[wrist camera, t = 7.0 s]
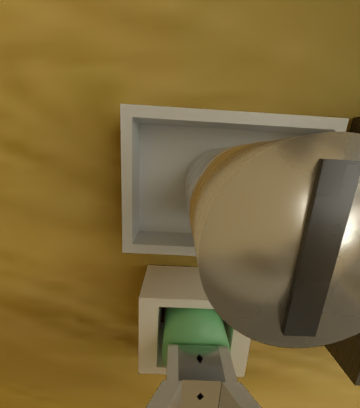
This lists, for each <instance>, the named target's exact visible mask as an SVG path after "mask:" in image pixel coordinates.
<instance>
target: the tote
mask: <svg viewBox="0 0 360 408" xmlns="http://www.w3.org/2000/svg"><path fill="white" fill-rule="evenodd" d="M348 121H349V118H335V117H320V116H304V115H289V114H273V113H258V112H242V111H227V110H211V109H196V108H180V107H165V106H149V105H134V104H120V125H121V188H122V252H123V253H141V254H163V255H185V256H196V252H195V247H194V241H193V236H192V230H191V225H190V219H189V214H188V208H187V203H186V197H185V191H184V179H185V175H186V172H187V170H188V168H189V166H190V165H191V163H192V162H193V161H194V160H195V159H196V158H197V157H198V156H199V155H201V154H202V153H204V152H206V151H209V150H212V149H217V148H224V147H230V146H237V145H244V144H250V143H257V142H264V141H270V140H277V139H283V138H290V137H297V136H303V135H310V134H317V133H324V132H346V129H347V125H348Z"/></svg>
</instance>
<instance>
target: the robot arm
mask: <svg viewBox="0 0 360 408" xmlns="http://www.w3.org/2000/svg"><path fill="white" fill-rule="evenodd" d="M146 408H262V407H261V406H260V405H259V404H258V402H257V401H256V400H255V399H254V398H253V396H252V395H251V394H250V393H249V392H248V390H247V389H246V388H245V387H244V386H243V384H242V383H240V382H238V381H237V377H236V374H235V370H234V366H233V362H232V359H231V355H230V351H229V348H228V346H214V345H198V346H196V345H181V344H168V352H167V371H166V380H163V381H162V382H161V384H160V386H159V387H158V389H157V390H156V392H155V394H154V395H153V397H152V398H151V400H150V402H149V403H148V405H147V406H146Z"/></svg>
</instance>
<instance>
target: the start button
mask: <svg viewBox="0 0 360 408" xmlns="http://www.w3.org/2000/svg"><path fill="white" fill-rule="evenodd" d="M168 344H181V345H196V346H198V345H214V346H228V348H229V351H230V346H229V342H228V339H227V335H226V331H225V327H224V324H223V320H222V318H221V317H220V316H219V315H218V314H217V312H216V311H215V310H214V309H201V308H175V307H166V309H165V321H164V333H163V346H162V357H163V360H164V363H165V365H166V366H167V352H168Z"/></svg>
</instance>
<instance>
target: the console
mask: <svg viewBox="0 0 360 408" xmlns="http://www.w3.org/2000/svg"><path fill="white" fill-rule="evenodd" d="M161 307H175V308H201V309H214V308H213V307H212V305H211V304H210V302H209V300H208V298H207V296H206V294H205V292H204V289H203V286H202V282H201V279H200V274H199V269H198V267H183V266H160V265H148V266H147V269H146V273H145V277H144V281H143V284H142V288H141V292H140V295H139V349H138V374H166V371H167V366H166V365H165V363H164V360H163V357H162V346H163V333H164V323H161ZM222 320H223V319H222ZM223 324H224V327H225V331H226V335H227V339H228V342H229V346H230V355H231V359H232V362H233V366H234V370H235V374H236V377H244V375H245V369H246V364H247V358H248V353H249V347H250V341H251V338H248V337H246V336H244V335H242V334H241V333H239V332H238V331H236V330H235V329H233V328H232V327H231V326H229V325H228V324H227V323H226V322H225V321H224V320H223Z"/></svg>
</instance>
